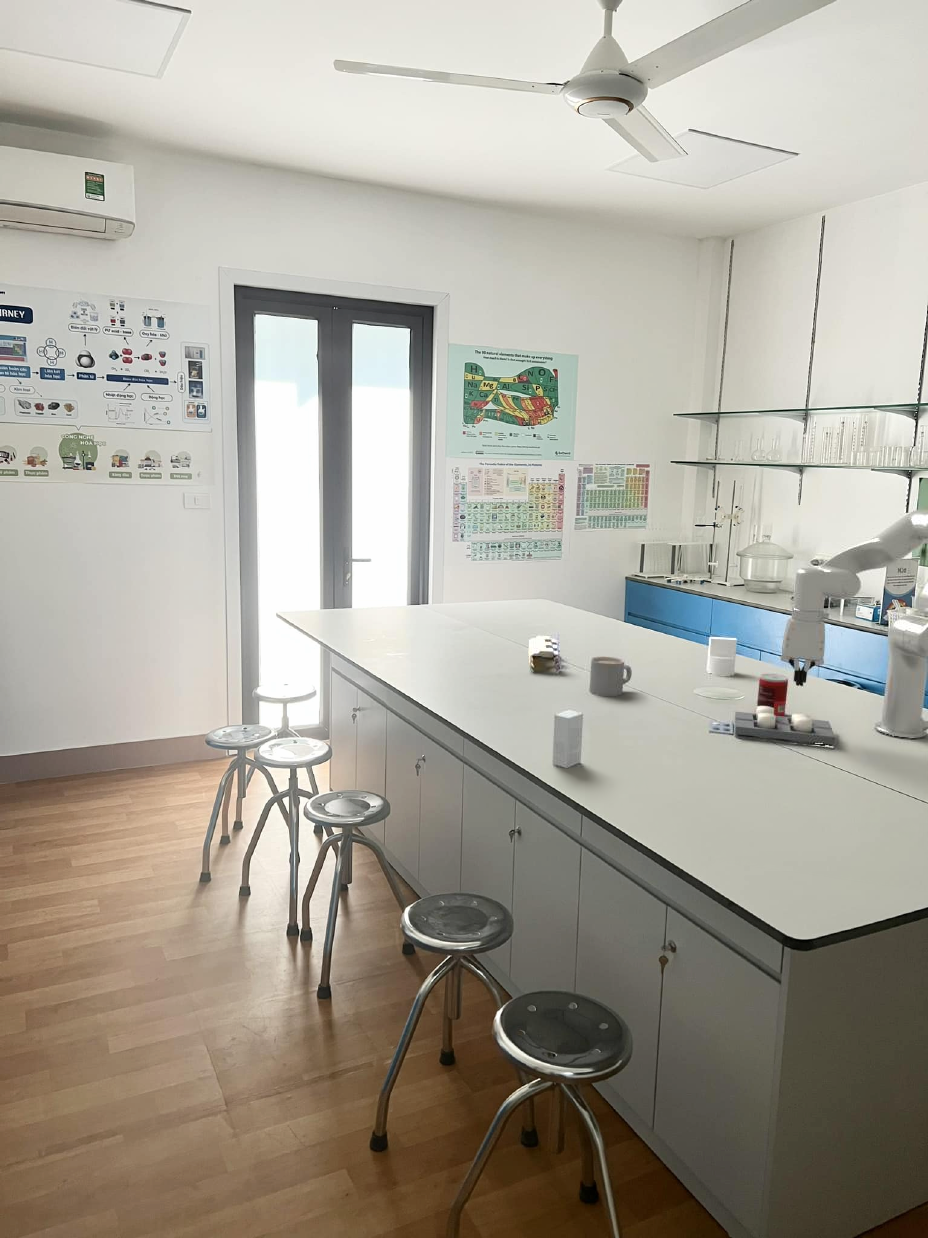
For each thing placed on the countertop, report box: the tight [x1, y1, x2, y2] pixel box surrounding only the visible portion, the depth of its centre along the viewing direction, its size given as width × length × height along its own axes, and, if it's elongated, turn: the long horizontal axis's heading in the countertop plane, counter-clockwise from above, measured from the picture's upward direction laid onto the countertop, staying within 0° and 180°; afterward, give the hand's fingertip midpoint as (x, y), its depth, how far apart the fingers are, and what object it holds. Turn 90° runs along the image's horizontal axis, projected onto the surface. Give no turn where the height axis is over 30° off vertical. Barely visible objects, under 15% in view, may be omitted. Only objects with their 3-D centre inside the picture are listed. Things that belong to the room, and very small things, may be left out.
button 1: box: [755, 706, 774, 719], centre depth 242 cm, size 4×4×3 cm
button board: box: [708, 711, 836, 746], centre depth 239 cm, size 30×15×3 cm, turn 74°
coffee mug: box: [589, 656, 633, 697], centre depth 276 cm, size 13×10×10 cm
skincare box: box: [552, 709, 584, 769], centre depth 209 cm, size 6×4×12 cm
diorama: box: [527, 633, 563, 674], centre depth 309 cm, size 25×10×13 cm, turn 177°
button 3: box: [791, 713, 811, 724], centre depth 240 cm, size 4×4×3 cm
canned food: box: [756, 673, 789, 716], centre depth 257 cm, size 8×8×11 cm
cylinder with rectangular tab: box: [706, 636, 738, 676], centre depth 306 cm, size 9×9×12 cm
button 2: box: [757, 713, 776, 729], centre depth 235 cm, size 4×4×3 cm
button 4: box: [793, 717, 814, 733], centre depth 233 cm, size 4×4×3 cm
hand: (799, 684), depth 238 cm, fingers closed
